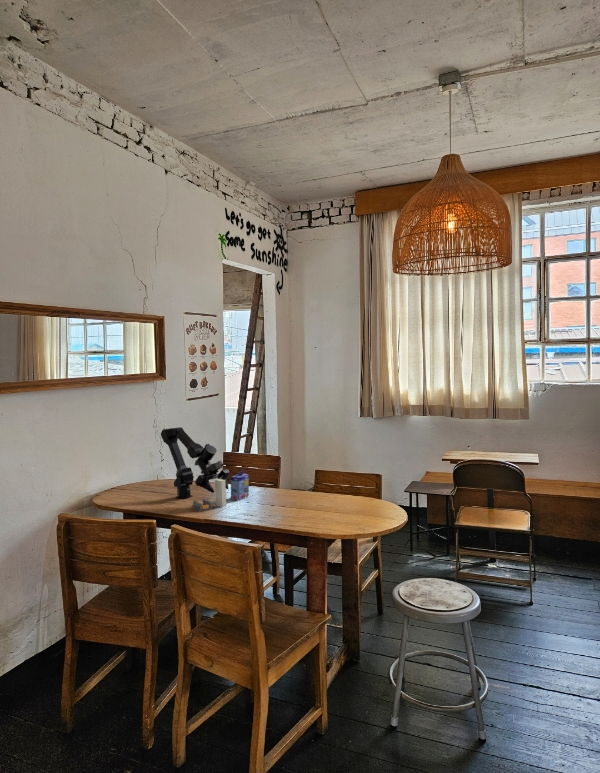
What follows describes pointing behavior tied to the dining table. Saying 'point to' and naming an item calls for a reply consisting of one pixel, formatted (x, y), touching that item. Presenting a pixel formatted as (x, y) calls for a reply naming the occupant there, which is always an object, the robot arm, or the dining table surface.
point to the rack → (202, 505)
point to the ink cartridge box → (239, 486)
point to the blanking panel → (220, 492)
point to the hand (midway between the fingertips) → (220, 490)
